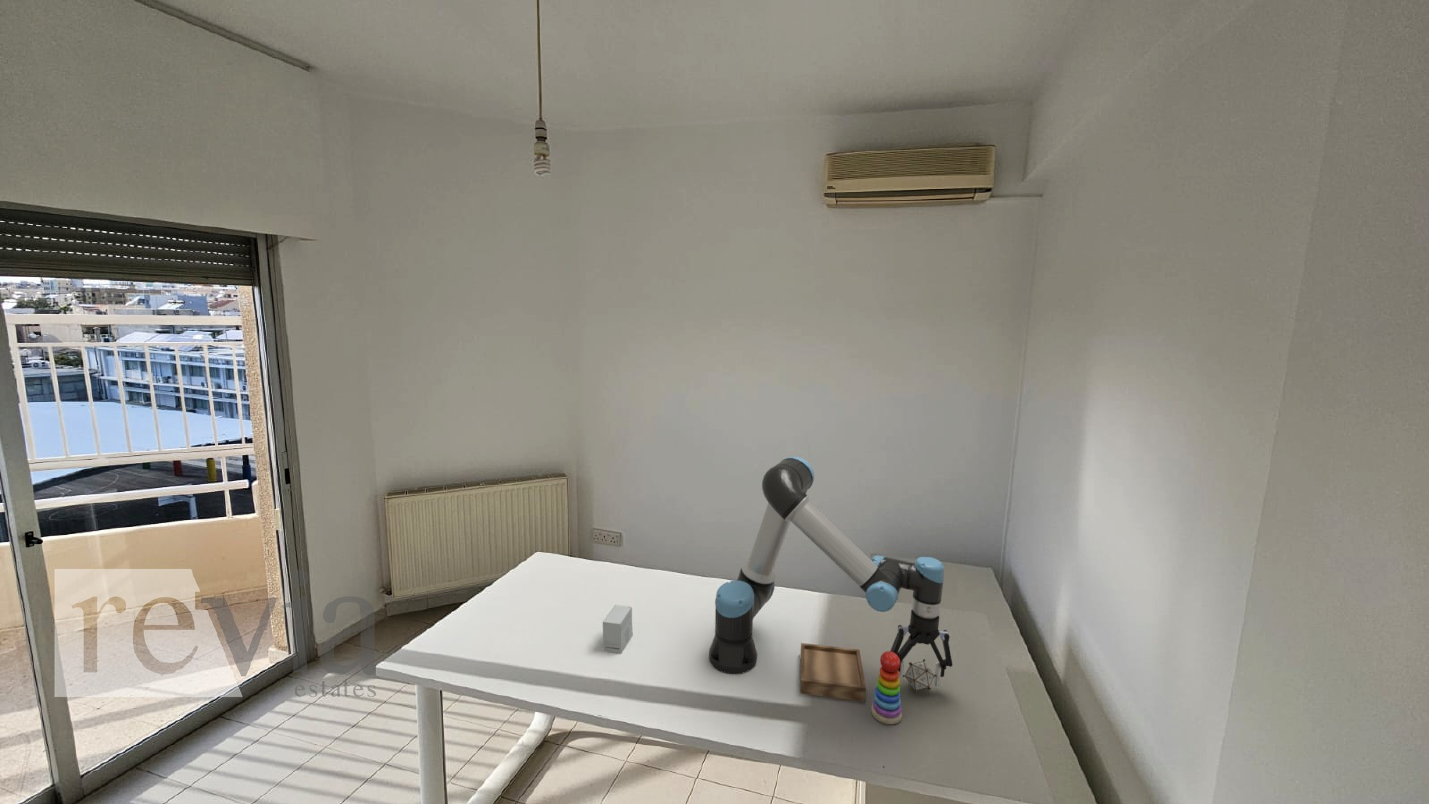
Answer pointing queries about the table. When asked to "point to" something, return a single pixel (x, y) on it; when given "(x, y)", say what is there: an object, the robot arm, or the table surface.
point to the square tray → (832, 672)
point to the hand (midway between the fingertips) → (918, 683)
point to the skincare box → (617, 629)
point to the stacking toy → (888, 691)
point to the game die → (919, 676)
